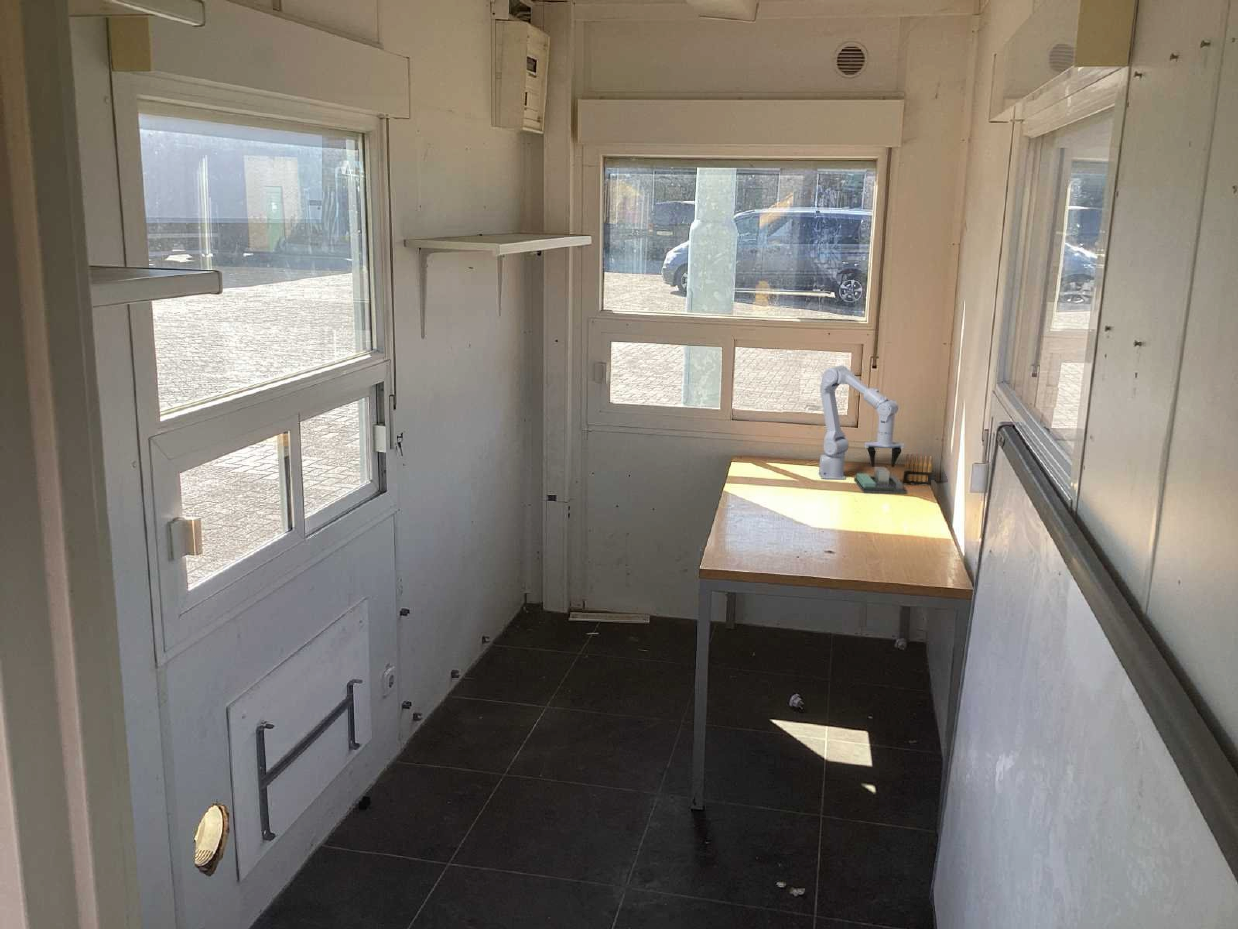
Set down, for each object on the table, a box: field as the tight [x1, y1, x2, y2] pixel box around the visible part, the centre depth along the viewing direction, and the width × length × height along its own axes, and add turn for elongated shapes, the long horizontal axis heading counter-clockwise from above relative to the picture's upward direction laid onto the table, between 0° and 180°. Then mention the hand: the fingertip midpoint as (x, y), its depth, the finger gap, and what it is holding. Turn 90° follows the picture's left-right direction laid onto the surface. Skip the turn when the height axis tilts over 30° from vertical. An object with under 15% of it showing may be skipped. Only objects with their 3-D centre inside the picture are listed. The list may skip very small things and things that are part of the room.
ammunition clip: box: [902, 453, 933, 486], centre depth 422 cm, size 11×2×12 cm, turn 81°
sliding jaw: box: [856, 473, 875, 488], centre depth 417 cm, size 4×14×2 cm, turn 0°
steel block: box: [873, 466, 890, 487], centre depth 417 cm, size 4×7×6 cm, turn 0°
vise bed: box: [853, 473, 907, 495], centre depth 417 cm, size 16×18×3 cm
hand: (882, 466), depth 416 cm, fingers open, 7 cm apart
